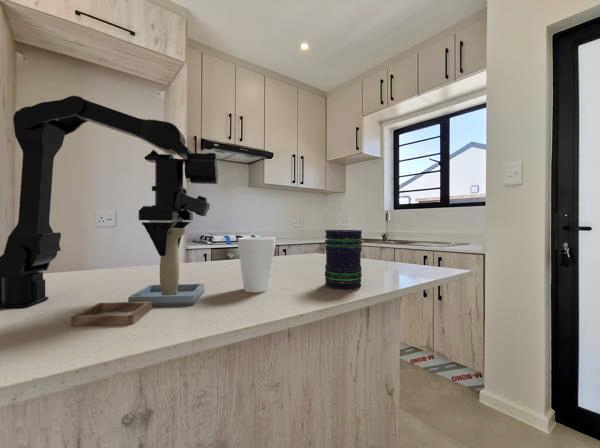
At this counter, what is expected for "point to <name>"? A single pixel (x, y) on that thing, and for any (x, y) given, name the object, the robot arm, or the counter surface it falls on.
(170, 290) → the handle
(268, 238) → the foam cup
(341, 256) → the storage jar
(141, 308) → the brown square frame
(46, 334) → the counter surface
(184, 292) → the tray
